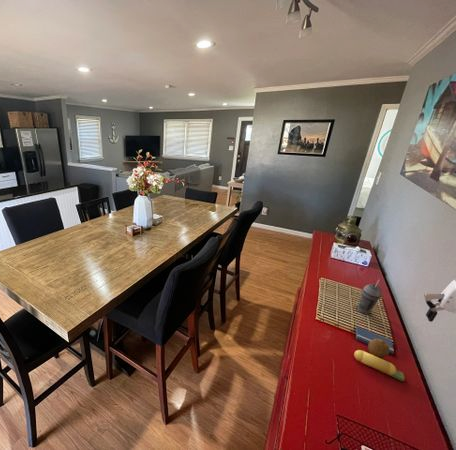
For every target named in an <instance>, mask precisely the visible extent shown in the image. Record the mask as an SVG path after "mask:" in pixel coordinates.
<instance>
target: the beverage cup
mask: <svg viewBox="0 0 456 450" xmlns="http://www.w3.org/2000/svg"><path fill="white" fill-rule="evenodd" d="M380 281H381V279H380V278H378V279H377V282H376V284H371V283H369V284H367V285H365V286H364V287H363V288H362V293H361V296H360V300H359V303H358V305H357V310H358V312H360V313H361V314H365V315H368V314H370V313H371V311H372V310H373V308H374V307H375V306H376V304H377V302H378V301H379V300H381V298H382V297H383V290H382V289H381V287H380V286H378V285H379V283H380Z"/></svg>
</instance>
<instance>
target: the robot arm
mask: <svg viewBox="0 0 456 450" xmlns="http://www.w3.org/2000/svg"><path fill="white" fill-rule="evenodd" d="M423 296H424V301H425V303H426V305H427V306H428V307H429V309H428V310H427V311H426V313H425V316H426V318H427V321H428V322H430V323H431V322H433V321H434V320H435V318H436V317H437V316H438V312H439V311H444V310H445V311H447V312H451V313H453V314H456V278H455V279H453V280H451V282H450V283H449V284H448V285H447V286H445V288H444V289H443V290H442V292H441V293H424V295H423ZM432 300H436V301H437V302H433V301H432Z"/></svg>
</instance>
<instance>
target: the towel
mask: <svg viewBox="0 0 456 450" xmlns="http://www.w3.org/2000/svg"><path fill="white" fill-rule="evenodd" d="M355 327H356V328H355V329H356V330H355V339H356V340H357V341H359V342H362V343H364V344H366V345H368V344H369V342H370V341H371V340H373V339H381V340H383V341H385V342H386V343H387V344H388V345H389V348H390V351H389V355H391V356H392V355H394V354H395V352H394V351H395V350H394V346H393V340H392V339H390V338H387V337H384V336H383V335H380V334H377V333H375V332H373V331H370V330H367V329H365V328H362V327H359V326H355Z"/></svg>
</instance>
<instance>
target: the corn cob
mask: <svg viewBox="0 0 456 450" xmlns="http://www.w3.org/2000/svg"><path fill="white" fill-rule="evenodd" d="M353 356H354V358H355V359H356V361H358V362H359V363H361V364H363V365H366V366H368V367H370V368H372V369H374V370H377V371H379V372H381V373H383V374H386V375H388V376H390V377H392V378H393V379H396V380H399V381H401V382H404V381H405V374H404V372H402V371H400V370H398V369H397V368H396V366H395V365H394V363H391V362H390V361H387V360H385V359H384V358H378V357H376V356H374V355H372V354H371V353H370V352H367V351H365V350H362V349H357V350H355V351H354V354H353Z"/></svg>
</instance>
